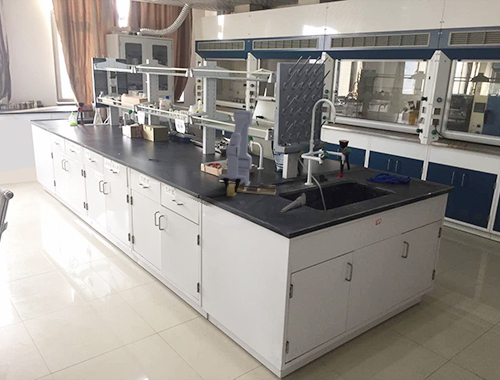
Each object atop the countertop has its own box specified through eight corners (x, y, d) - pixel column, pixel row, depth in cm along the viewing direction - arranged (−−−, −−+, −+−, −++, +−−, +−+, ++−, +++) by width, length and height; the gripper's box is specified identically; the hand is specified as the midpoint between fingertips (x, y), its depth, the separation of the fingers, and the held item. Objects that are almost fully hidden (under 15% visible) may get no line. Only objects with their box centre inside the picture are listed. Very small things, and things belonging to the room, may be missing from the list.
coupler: (226, 195, 221) (227, 186, 220) (229, 192, 228) (229, 183, 227) (234, 196, 221) (234, 187, 219) (236, 192, 228) (236, 184, 226)
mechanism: (230, 188, 237) (231, 179, 235) (276, 191, 233) (276, 182, 232) (228, 191, 230) (228, 182, 229) (274, 194, 227) (275, 186, 225)
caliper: (303, 203, 213) (304, 192, 212) (305, 204, 213) (306, 192, 211) (280, 212, 198) (280, 200, 197) (282, 213, 198) (282, 200, 196)
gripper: (217, 168, 218) (217, 192, 221) (244, 169, 216) (243, 194, 219) (220, 165, 224) (220, 189, 228) (246, 167, 222) (245, 191, 226)
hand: (231, 191), depth 224 cm, fingers closed on coupler, 4 cm apart
